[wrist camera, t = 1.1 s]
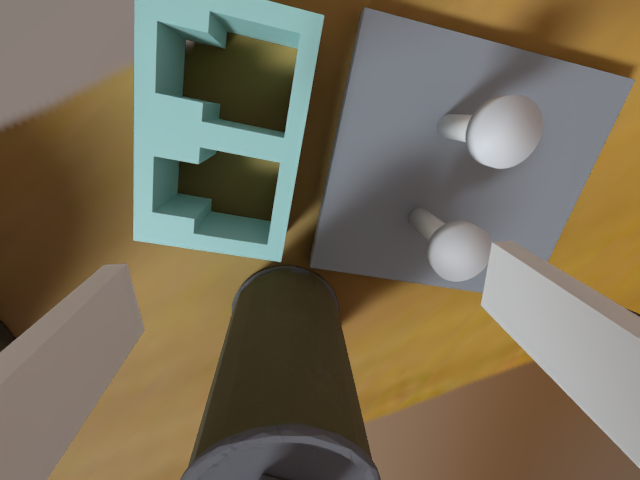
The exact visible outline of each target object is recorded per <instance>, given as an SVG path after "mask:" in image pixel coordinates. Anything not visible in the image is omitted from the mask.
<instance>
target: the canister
mask: <svg viewBox="0 0 640 480" xmlns="http://www.w3.org/2000/svg"><path fill="white" fill-rule="evenodd" d="M180 480H381V479H380V475H379V473H378V470H377V467H376V466H375V464H374V462H373V461H372V457H371V453H370V449H369V444H368V440H367V436H366V432H365V427H364V422H363V418H362V414H361V409H360V405H359V401H358V396H357V392H356V388H355V383H354V379H353V375H352V370H351V366H350V361H349V357H348V353H347V348H346V344H345V340H344V335H343V331H342V327H341V322H340V318H339V307H338V301H337V298H336V295H335V293H334V291H333V289H332V288H331V287H330V285H329V284H328V283H327V282H326V281H325V280H324V279H323V278H321V277H320V276H319V275H318V274H316V273H313V272H311V271H308V270H306V269H303V268H300V267H296V266H279V267H273V268H267V269H265V270H263V271H261V272H259V273H257V274H255V275H253V276H252V277H251V278H249V279H248V280H247V281H246V282H244V283H243V284H242V286H241V287H240V289H239V290H238V292H237V294H236V296H235V298H234V301H233V304H232V316H231V319H230V323H229V326H228V330H227V333H226V337H225V340H224V344H223V347H222V351H221V354H220V358H219V361H218V365H217V368H216V372H215V375H214V379H213V382H212V386H211V389H210V392H209V396H208V399H207V403H206V406H205V410H204V413H203V417H202V420H201V424H200V427H199V431H198V434H197V438H196V441H195V445H194V448H193V452H192V455H191V459H190V462H189V466H188V468H187V470H186V471H185V472H184V474H183V475H182V477H181V479H180Z"/></svg>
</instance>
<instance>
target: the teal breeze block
mask: <svg viewBox="0 0 640 480" xmlns="http://www.w3.org/2000/svg"><path fill="white" fill-rule="evenodd" d="M323 21H324V15H322V14H318V13H314V12H310V11H306V10H302V9H299V8H295V7H291V6H287V5H283V4H279V3H276V2H272V1H268V0H135V29H134V32H135V33H134V35H135V37H134V43H135V44H134V218H133V240H134V241H141V242H148V243H154V244H161V245H168V246H175V247H182V248H188V249H195V250H202V251H209V252H216V253H223V254H229V255H236V256H243V257H250V258H257V259H263V260H270V261H277V262H281V260H282V254H283V248H284V243H285V237H286V231H287V226H288V220H289V214H290V209H291V203H292V197H293V192H294V186H295V180H296V175H297V169H298V163H299V157H300V152H301V146H302V140H303V135H304V129H305V123H306V118H307V112H308V106H309V101H310V95H311V89H312V83H313V78H314V72H315V66H316V61H317V55H318V49H319V44H320V38H321V32H322V27H323ZM227 32H230V33H234V34H239V35H243V36H247V37H251V38H255V39H259V40H263V41H267V42H272V43H276V44H280V45H284V46H288V47H292V48H296V49H298V52H297V59H296V65H295V71H294V78H293V84H292V91H291V97H290V103H289V110H288V116H287V122H286V129H285V132H281V131H276V130H271V129H266V128H261V127H256V126H251V125H246V124H242V123H237V122H232V121H227V120H222V119H219V116H220V104H218V103H213V102H209V101H204V100H199V99H194V98H190V97H185V96H183V81H184V62H185V43H186V40H190V41H194V42H199V43H203V44H207V45H211V46H216V47H220V48H224V49H226V37H227ZM216 151H222V152H227V153H232V154H237V155H243V156H248V157H253V158H258V159H264V160H269V161H274V162H279V163H280V167H279V174H278V180H277V186H276V193H275V199H274V205H273V212H272V218H271V221H267V220H261V219H255V218H249V217H242V216H236V215H230V214H224V213H218V212H212V211H211V205H212V199H209V198H203V197H197V196H191V195H185V194H179V193H178V177H179V161H183V162H188V163H194V164H200V163H202V162H203V161H205V160H207V159H208V158H210V157H212V156H213V155H215V154H216Z"/></svg>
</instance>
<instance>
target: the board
mask: <svg viewBox="0 0 640 480" xmlns="http://www.w3.org/2000/svg"><path fill="white" fill-rule="evenodd" d="M634 82H635V80H634V79H631V78H627V77H623V76H619V75H616V74H612V73H608V72H604V71H601V70H597V69H593V68H590V67H586V66H582V65H578V64H575V63H571V62H567V61H564V60H560V59H556V58H552V57H549V56H545V55H541V54H537V53H534V52H530V51H526V50H523V49H519V48H515V47H511V46H508V45H504V44H500V43H497V42H493V41H489V40H485V39H482V38H478V37H474V36H470V35H467V34H463V33H459V32H456V31H452V30H448V29H444V28H441V27H437V26H433V25H430V24H426V23H422V22H418V21H415V20H411V19H407V18H404V17H400V16H396V15H392V14H389V13H385V12H381V11H377V10H374V9H370V8H366V7H365V8H364V9H363V11H362V12H361V14H360V19H359V24H358V28H357V33H356V38H355V43H354V48H353V53H352V57H351V62H350V67H349V72H348V77H347V81H346V86H345V91H344V96H343V101H342V105H341V110H340V115H339V120H338V125H337V129H336V134H335V139H334V144H333V149H332V154H331V158H330V163H329V168H328V173H327V178H326V182H325V187H324V192H323V197H322V202H321V206H320V211H319V216H318V221H317V226H316V230H315V235H314V240H313V245H312V250H311V255H310V259H309V262H310V268H316V269H323V270H330V271H337V272H343V273H350V274H357V275H364V276H371V277H378V278H385V279H391V280H398V281H405V282H412V283H419V284H426V285H432V286H439V287H446V288H453V289H460V290H467V291H473V292H480V293H483V290H484V284H485V279H486V273H487V267H488V262H489V256H490V251H491V245H492V242H502V241H513V242H514V243H516V244H518V245H519V246H521V247H523V248H524V249H526V250H528V251H529V252H531V253H533V254H534V255H536V256H538V257H540V258H541V259H543V260H545V261H546V262H548V260H549V258H550V256H551V253H552V251H553V249H554V247H555V245H556V243H557V241H558V239H559V237H560V235H561V233H562V231H563V229H564V227H565V224H566V222H567V220H568V218H569V216H570V214H571V212H572V210H573V208H574V206H575V204H576V202H577V200H578V198H579V195H580V193H581V191H582V189H583V187H584V185H585V183H586V181H587V179H588V177H589V175H590V173H591V171H592V169H593V166H594V164H595V162H596V160H597V158H598V156H599V154H600V152H601V150H602V148H603V146H604V144H605V142H606V140H607V137H608V135H609V133H610V131H611V129H612V127H613V125H614V123H615V121H616V119H617V117H618V115H619V113H620V111H621V109H622V106H623V104H624V102H625V100H626V98H627V96H628V94H629V92H630V90H631V88H632V86H633V84H634Z"/></svg>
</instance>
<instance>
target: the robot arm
mask: <svg viewBox="0 0 640 480" xmlns="http://www.w3.org/2000/svg"><path fill="white" fill-rule="evenodd" d="M481 306H482V307H483V308H484V309H485V310H486V311H487V312H488V313H489V314H490V315H491V316H492V317H493V318H494V319H495V321H496V322H497V323H498V324H499V325H500V326H501V327H502V328H503V329H504V330H505V331H506V332H507V333H508V334H509V335H510V336H511V337H512V338H513V339H514V340H515V341H516V342H517V343H518V344H519V345H520V346H521V347H522V348H523V349H524V350H525V351H526V352H527V353H528V354H529V355H530V356H531V357H532V358H533V359H534V361H535V362H536V363H538V365H539V366H540V367H541V368H542V369H543V370H544V371H545V372H546V373H547V374H548V375H549V376H550V377H551V378H552V379H553V380H554V381H555V382H556V383H557V384H558V385H559V386H560V387H561V388H562V389H563V390H564V391H565V392H566V393H567V394H568V395H569V396H570V397H571V398H572V399H573V400H574V401H575V403H576V404H578V406H579V407H580V408H581V409H582V410H583V411H584V412H585V413H587V415H588V416H589V417H590V418H591V419H592V420H593V421H594V422H595V423H596V424H597V425H598V426H599V427H600V428H601V429H602V430H603V431H604V432H605V433H606V434H607V435H608V436H609V437H610V438H611V439H612V440H613V442H615V444H616V445H617V446H618V447H619V448H620V449H621V450H622V451H623V452H624V453H625V454H626V455H627V456H628V457H629V458H630V459H631V460H632V461H633V462H634V463H635V464H636V465H637V466H638V467H639V468H640V314H638V313H636V312H633V311H631V310H628V309H626V308H624V307H622V306H620V305H619V304H617V303H615V302H614V301H612V300H610V299H609V298H607V297H605V296H604V295H602V294H600V293H598V292H597V291H595V290H593V289H592V288H590V287H588V286H587V285H585V284H583V283H582V282H580V281H578V280H577V279H575V278H573V277H572V276H570V275H568V274H566V273H565V272H563V271H561V270H560V269H558V268H556V267H555V266H553V265H551V264H550V263H548V262H546V261H545V260H543V259H541V258H540V257H538V256H536V255H534V254H533V253H531V252H529V251H528V250H526V249H524V248H523V247H521V246H519V245H518V244H516V243H514V242H513V241H502V242H492V245H491V251H490V256H489V262H488V267H487V273H486V279H485V284H484V290H483V296H482V301H481ZM143 331H144V326H143V322H142V318H141V314H140V311H139V307H138V303H137V299H136V295H135V292H134V288H133V284H132V280H131V277H130V273H129V269H128V265H127V263H126V264H109V265H103V266H102V267H101V268H100V269H98V270H97V271H96V272H95V273H94V274H92V275H91V276H90V277H89V278H88V279H87V280H85V281H84V282H83V283H82V284H81V285H79V286H78V287H77V288H76V289H75V290H73V291H72V292H71V293H70V294H69V295H68V296H66V297H65V298H64V299H63V300H62V301H60V302H59V303H58V304H57V305H56V306H55V307H53V308H52V309H51V310H50V311H49V312H47V313H46V314H45V315H44V316H43V317H42V318H40V319H39V320H38V321H37V322H36V323H34V324H33V325H32V326H31V327H30V328H28V329H27V330H26V331H25V332H24V333H23V334H21V335H20V336H19V337H18V338H17V339H15V340H14V338H13V337H12V335H11V334H10V332H9V331H8V330H7V329H6V328H5V326H4V325H3V324H2V323H1V322H0V480H47V479H48V477H49V476H50V474H51V472H52V471H53V469H54V468H55V466H56V465H57V463H58V462H59V460H60V459H61V457H62V456H63V454H64V453H65V451H66V449H67V448H68V446H69V445H70V443H71V442H72V440H73V439H74V437H75V436H76V434H77V433H78V431H79V430H80V428H81V426H82V425H83V423H84V422H85V420H86V419H87V417H88V416H89V414H90V413H91V411H92V410H93V408H94V407H95V405H96V403H97V402H98V400H99V399H100V397H101V396H102V394H103V393H104V391H105V390H106V388H107V387H108V385H109V384H110V382H111V380H112V379H113V377H114V376H115V374H116V373H117V371H118V370H119V368H120V367H121V365H122V364H123V362H124V361H125V359H126V358H127V356H128V354H129V353H130V351H131V350H132V348H133V347H134V345H135V344H136V342H137V341H138V339H139V338H140V336H141V335H142V333H143Z"/></svg>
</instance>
